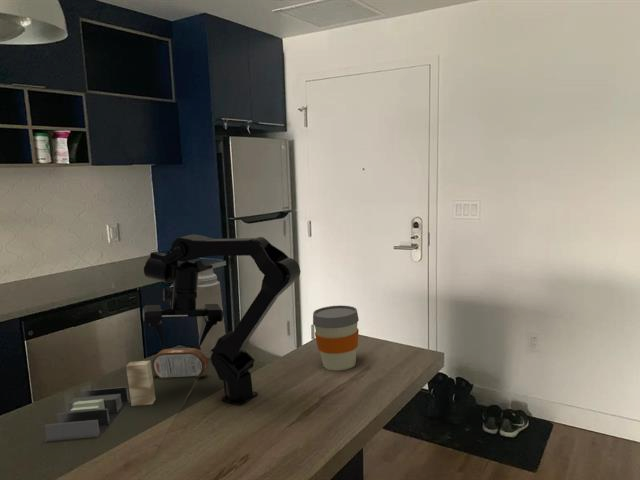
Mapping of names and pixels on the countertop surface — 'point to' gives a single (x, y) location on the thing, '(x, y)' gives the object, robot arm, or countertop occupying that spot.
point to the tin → (179, 363)
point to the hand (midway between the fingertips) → (181, 345)
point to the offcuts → (88, 405)
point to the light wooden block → (140, 383)
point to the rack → (88, 415)
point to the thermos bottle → (209, 295)
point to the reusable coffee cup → (336, 336)
